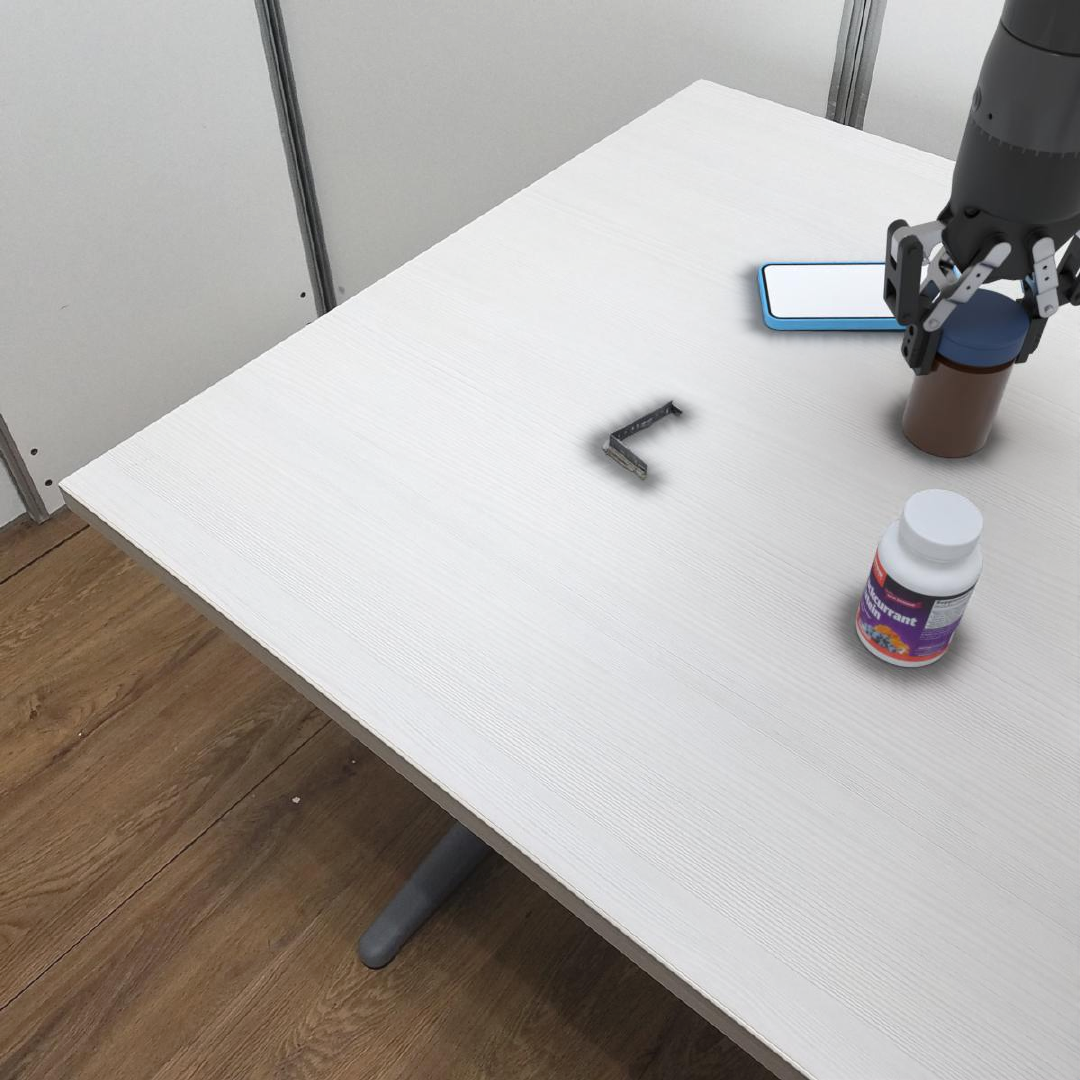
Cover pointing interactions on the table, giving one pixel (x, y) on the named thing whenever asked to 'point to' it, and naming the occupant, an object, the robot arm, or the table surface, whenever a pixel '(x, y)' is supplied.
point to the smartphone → (826, 295)
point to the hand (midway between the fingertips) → (965, 360)
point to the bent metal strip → (631, 428)
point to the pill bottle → (921, 579)
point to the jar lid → (984, 330)
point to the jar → (954, 406)
